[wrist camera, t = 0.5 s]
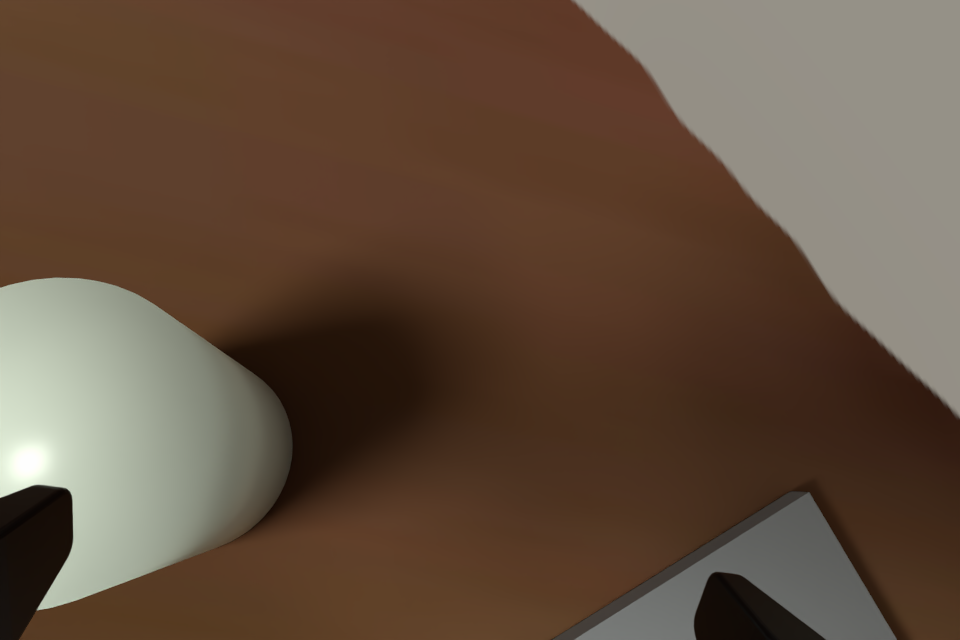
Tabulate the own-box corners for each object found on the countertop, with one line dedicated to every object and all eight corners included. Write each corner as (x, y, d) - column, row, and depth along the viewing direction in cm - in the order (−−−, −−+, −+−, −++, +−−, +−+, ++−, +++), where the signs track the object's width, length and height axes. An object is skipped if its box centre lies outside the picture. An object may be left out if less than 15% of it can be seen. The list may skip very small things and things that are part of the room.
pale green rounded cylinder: (323, 494, 23) (264, 506, 13) (134, 591, 21) (-86, 684, 12) (248, 329, 24) (145, 230, 14) (64, 410, 23) (-187, 360, 13)
